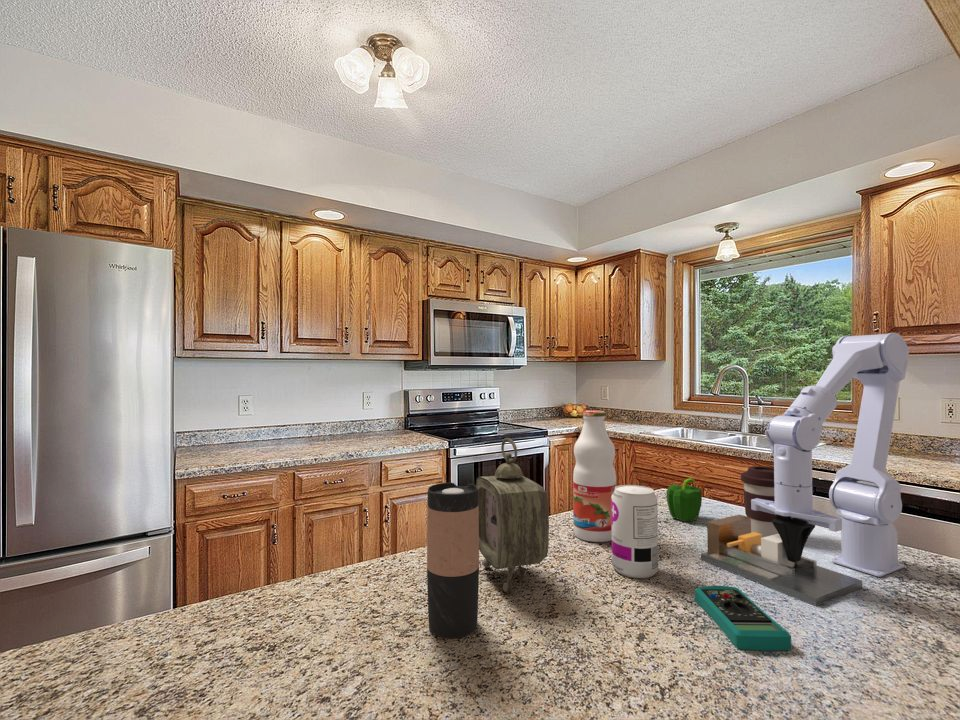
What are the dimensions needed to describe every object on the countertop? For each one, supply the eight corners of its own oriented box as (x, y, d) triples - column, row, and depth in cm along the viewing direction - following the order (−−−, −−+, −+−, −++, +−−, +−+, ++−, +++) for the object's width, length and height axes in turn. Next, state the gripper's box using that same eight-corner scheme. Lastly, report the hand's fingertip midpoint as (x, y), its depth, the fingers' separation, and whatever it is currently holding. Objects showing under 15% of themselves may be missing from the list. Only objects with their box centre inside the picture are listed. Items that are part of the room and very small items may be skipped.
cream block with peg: (794, 566, 89) (793, 538, 89) (777, 571, 87) (777, 543, 87) (762, 555, 94) (761, 529, 94) (745, 559, 92) (745, 533, 92)
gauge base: (862, 587, 83) (861, 545, 83) (816, 606, 77) (815, 560, 77) (746, 547, 102) (745, 513, 102) (700, 560, 95) (700, 523, 96)
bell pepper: (670, 523, 118) (670, 482, 118) (663, 513, 126) (663, 474, 126) (707, 525, 117) (707, 483, 117) (697, 515, 125) (697, 475, 125)
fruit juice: (625, 537, 108) (624, 411, 109) (597, 546, 103) (596, 413, 103) (592, 526, 116) (591, 408, 116) (564, 534, 110) (564, 410, 111)
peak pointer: (762, 555, 94) (762, 534, 94) (732, 563, 90) (731, 542, 90) (754, 552, 96) (754, 532, 96) (724, 561, 91) (724, 539, 91)
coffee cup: (803, 543, 104) (802, 473, 104) (756, 543, 104) (755, 473, 105) (775, 528, 114) (774, 464, 114) (733, 528, 114) (732, 464, 114)
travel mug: (439, 645, 66) (439, 497, 66) (419, 619, 73) (419, 485, 73) (488, 631, 70) (488, 490, 70) (465, 608, 76) (465, 480, 77)
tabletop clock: (475, 565, 93) (474, 434, 93) (518, 559, 96) (518, 432, 96) (501, 599, 79) (501, 445, 80) (552, 591, 82) (551, 442, 83)
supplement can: (609, 575, 88) (608, 492, 89) (614, 559, 96) (614, 482, 96) (657, 582, 85) (656, 496, 86) (658, 565, 93) (658, 486, 93)
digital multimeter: (737, 601, 79) (737, 583, 79) (794, 654, 65) (793, 632, 65) (692, 601, 80) (692, 583, 80) (737, 654, 65) (737, 631, 65)
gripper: (740, 477, 91) (741, 550, 91) (824, 495, 79) (826, 580, 78) (763, 474, 95) (764, 544, 94) (848, 490, 82) (849, 571, 82)
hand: (794, 560), depth 87 cm, fingers closed
